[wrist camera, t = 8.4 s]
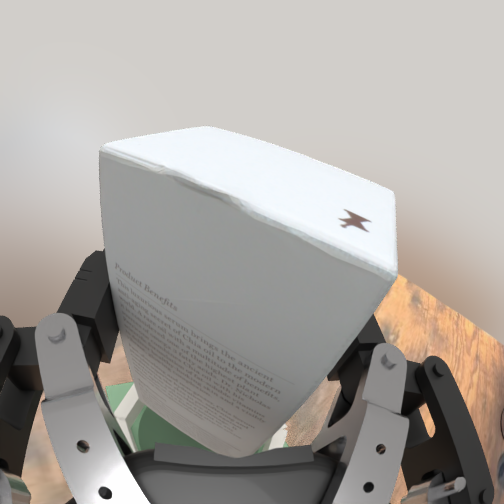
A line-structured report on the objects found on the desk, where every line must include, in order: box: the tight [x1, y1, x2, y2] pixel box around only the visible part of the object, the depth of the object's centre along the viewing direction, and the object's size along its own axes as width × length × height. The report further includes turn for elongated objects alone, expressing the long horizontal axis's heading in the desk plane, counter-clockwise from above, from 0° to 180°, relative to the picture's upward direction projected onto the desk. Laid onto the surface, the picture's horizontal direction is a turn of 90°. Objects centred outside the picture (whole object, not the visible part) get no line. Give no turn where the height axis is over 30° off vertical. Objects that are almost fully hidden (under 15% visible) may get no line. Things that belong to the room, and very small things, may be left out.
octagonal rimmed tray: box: [106, 382, 289, 454], centre depth 18 cm, size 13×13×4 cm
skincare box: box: [99, 126, 398, 458], centre depth 9 cm, size 6×4×12 cm
